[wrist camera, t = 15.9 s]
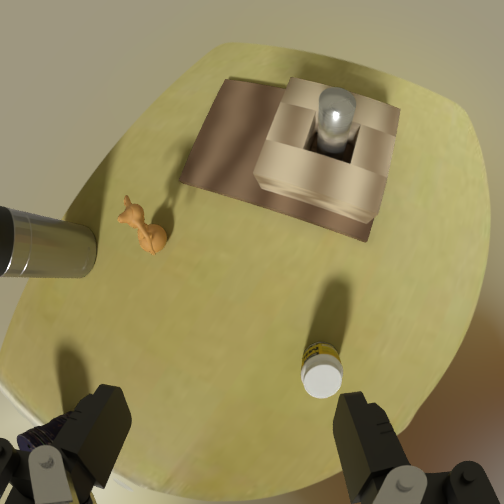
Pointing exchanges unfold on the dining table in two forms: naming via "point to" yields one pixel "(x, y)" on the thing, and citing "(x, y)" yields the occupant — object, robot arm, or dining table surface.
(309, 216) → the walnut board
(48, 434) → the storage jar
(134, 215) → the figurine
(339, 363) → the supplement bottle
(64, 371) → the dining table surface
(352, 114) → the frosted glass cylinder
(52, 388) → the dining table surface
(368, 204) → the beech bead block
